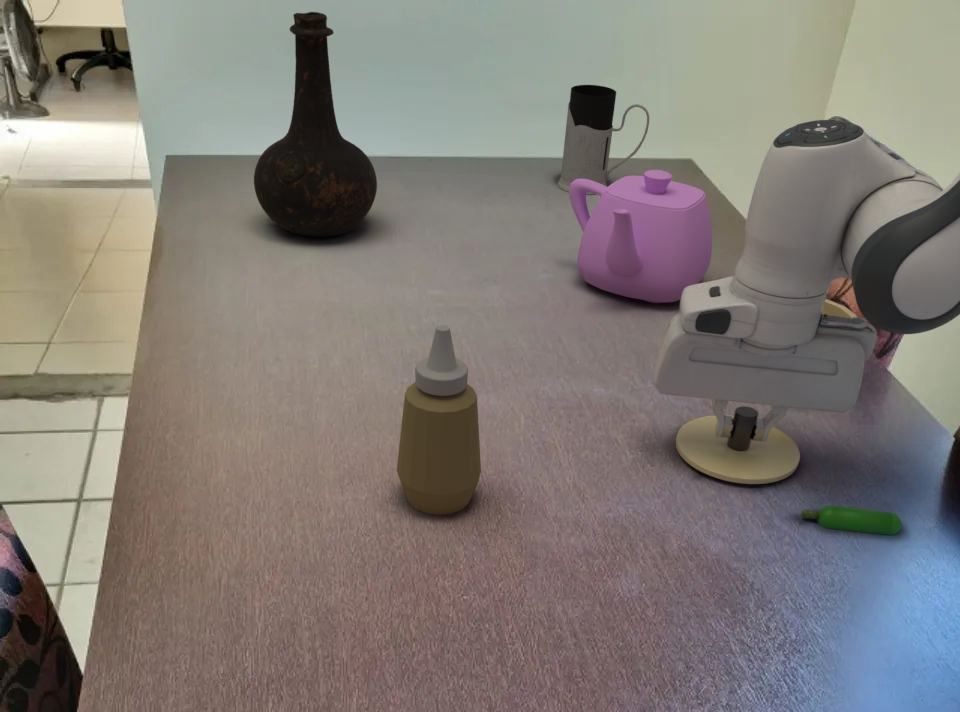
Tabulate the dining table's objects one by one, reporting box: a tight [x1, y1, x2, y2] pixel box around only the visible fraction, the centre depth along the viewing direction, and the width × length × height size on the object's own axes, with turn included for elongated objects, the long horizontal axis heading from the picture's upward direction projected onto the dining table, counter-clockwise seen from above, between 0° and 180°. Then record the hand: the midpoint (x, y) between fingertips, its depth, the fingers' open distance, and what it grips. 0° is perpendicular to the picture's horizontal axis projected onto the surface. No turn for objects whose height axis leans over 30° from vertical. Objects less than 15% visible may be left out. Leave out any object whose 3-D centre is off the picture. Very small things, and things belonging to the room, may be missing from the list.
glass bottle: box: [253, 11, 378, 238], centre depth 139 cm, size 18×18×28 cm
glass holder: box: [557, 84, 650, 196], centre depth 164 cm, size 9×14×15 cm, turn 75°
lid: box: [675, 405, 801, 485], centre depth 102 cm, size 13×13×5 cm
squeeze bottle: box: [396, 324, 482, 516], centre depth 89 cm, size 8×8×18 cm
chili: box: [800, 505, 902, 536], centre depth 95 cm, size 10×2×2 cm, turn 83°
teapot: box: [568, 169, 713, 304], centre depth 132 cm, size 23×21×15 cm
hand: (740, 436), depth 102 cm, fingers closed on lid, 2 cm apart
